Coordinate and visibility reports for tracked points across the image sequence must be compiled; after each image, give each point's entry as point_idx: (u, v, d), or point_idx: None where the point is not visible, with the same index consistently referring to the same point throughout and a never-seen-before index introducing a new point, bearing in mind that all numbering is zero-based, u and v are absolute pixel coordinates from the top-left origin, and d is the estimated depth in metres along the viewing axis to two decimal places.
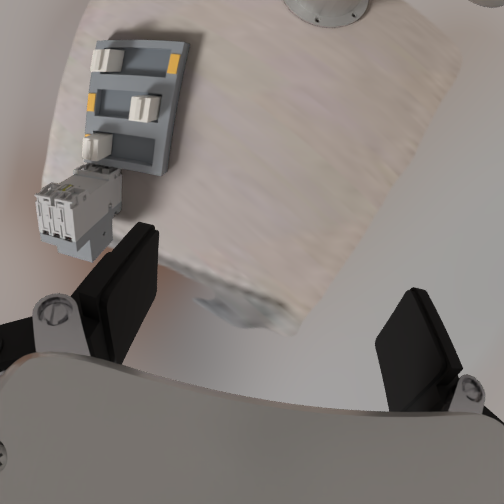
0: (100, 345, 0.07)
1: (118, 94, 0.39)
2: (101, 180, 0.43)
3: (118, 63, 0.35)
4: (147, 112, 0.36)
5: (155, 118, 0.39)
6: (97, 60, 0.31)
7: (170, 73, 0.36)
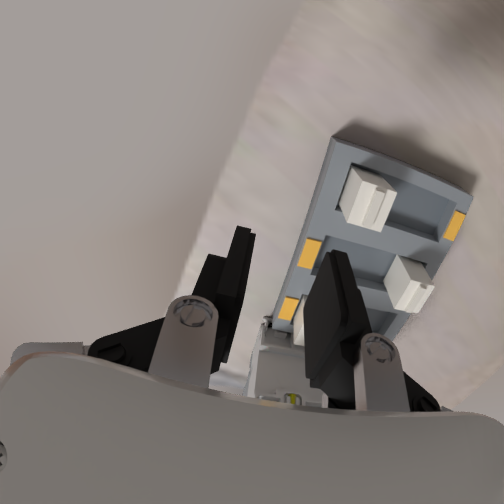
0: None
1: (352, 243, 0.28)
2: None
3: None
4: (423, 302, 0.25)
5: None
6: (373, 209, 0.21)
7: (446, 238, 0.25)
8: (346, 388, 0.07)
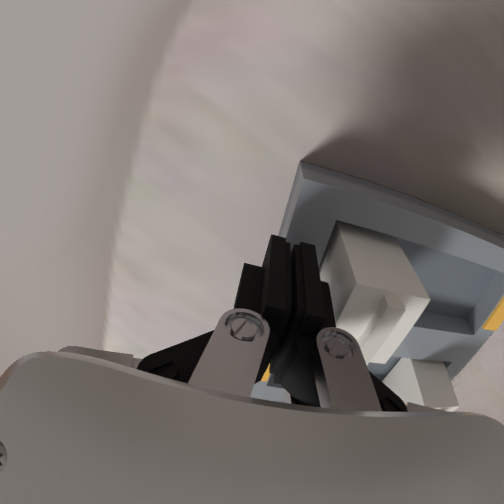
0: None
1: None
2: None
3: None
4: None
5: None
6: (374, 339, 0.09)
7: (486, 327, 0.14)
8: (304, 384, 0.07)
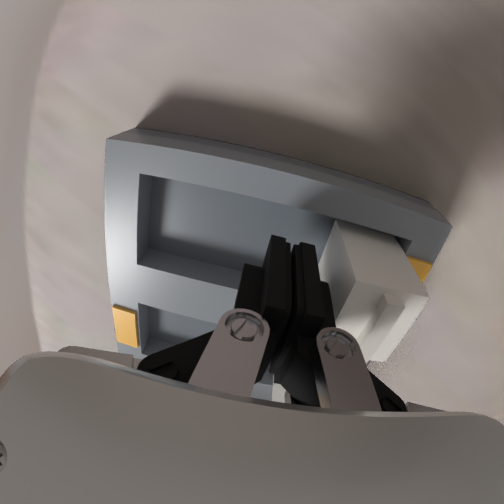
0: None
1: None
2: None
3: None
4: None
5: None
6: (374, 337, 0.09)
7: None
8: (304, 385, 0.07)
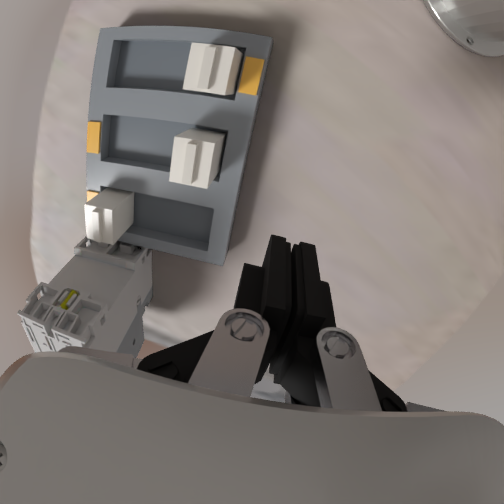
0: None
1: (141, 123, 0.24)
2: (121, 270, 0.28)
3: (235, 79, 0.20)
4: (207, 169, 0.21)
5: (215, 174, 0.24)
6: (205, 67, 0.17)
7: (244, 93, 0.21)
8: (304, 384, 0.07)
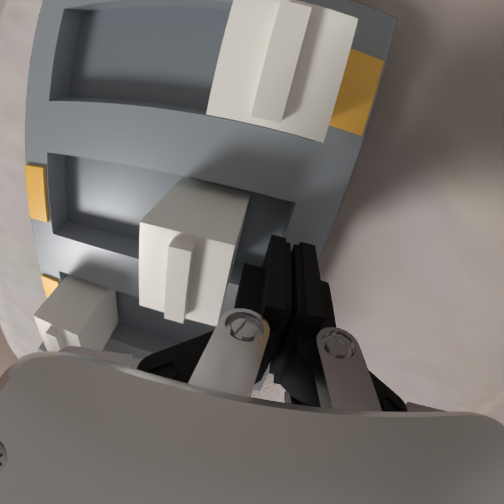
0: None
1: (116, 168, 0.13)
2: None
3: None
4: (218, 296, 0.10)
5: (230, 275, 0.13)
6: (278, 59, 0.06)
7: (336, 127, 0.10)
8: (304, 384, 0.07)
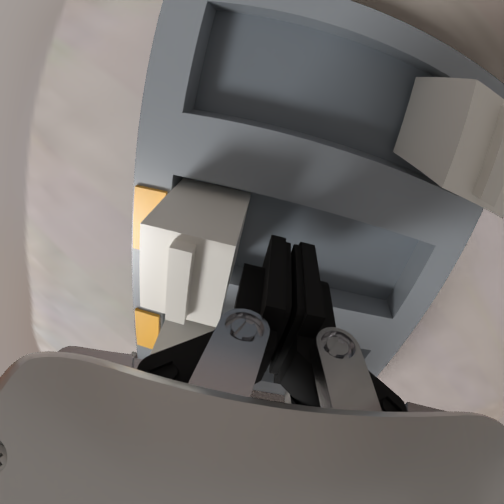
0: None
1: (254, 199, 0.13)
2: None
3: None
4: (219, 297, 0.10)
5: None
6: (502, 157, 0.06)
7: None
8: (304, 385, 0.07)
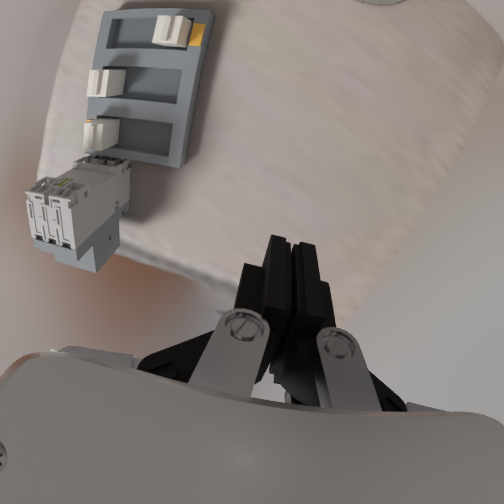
0: None
1: (127, 72, 0.32)
2: (105, 174, 0.35)
3: (187, 37, 0.28)
4: (105, 85, 0.28)
5: (117, 93, 0.31)
6: (165, 28, 0.24)
7: (192, 45, 0.28)
8: (304, 384, 0.07)
